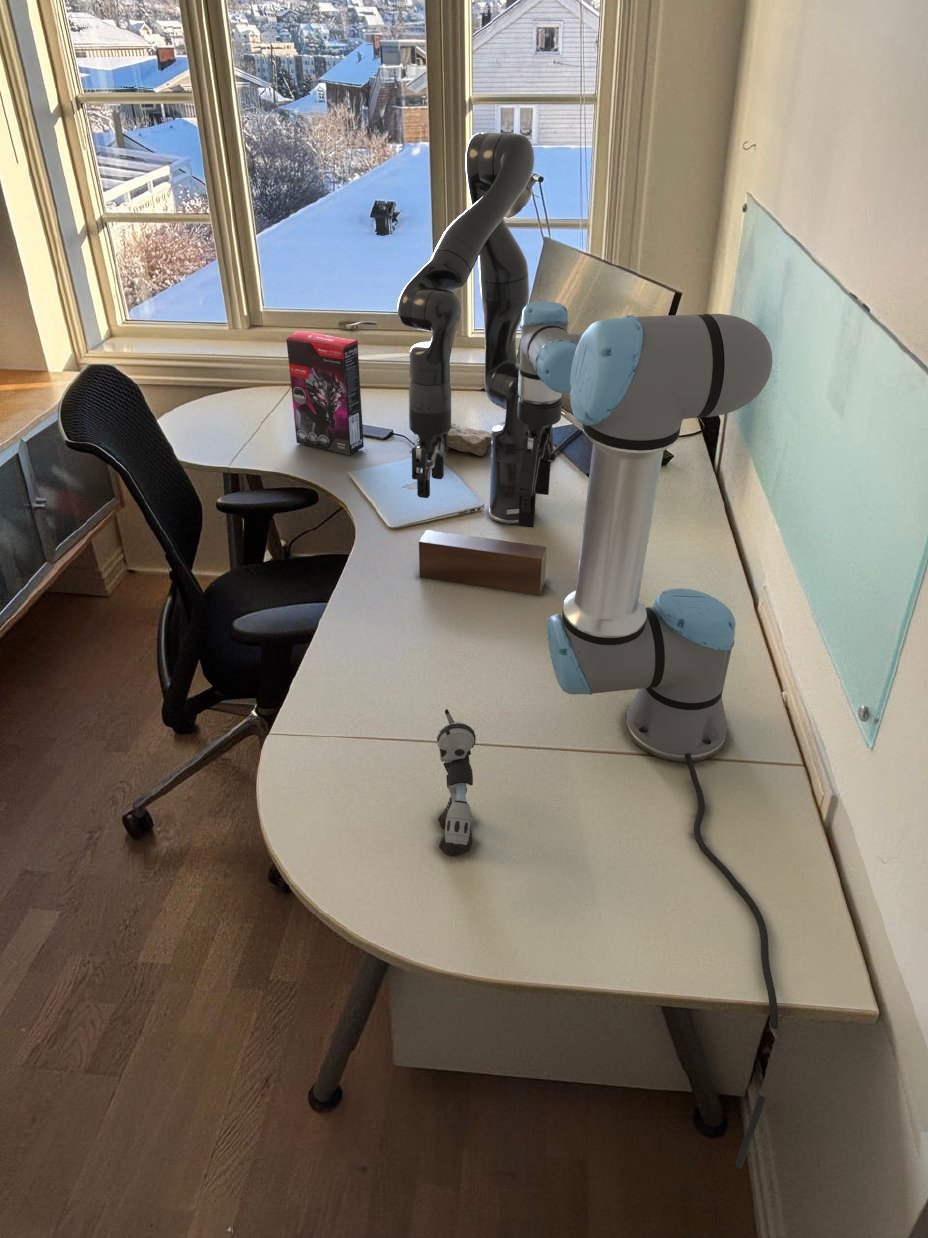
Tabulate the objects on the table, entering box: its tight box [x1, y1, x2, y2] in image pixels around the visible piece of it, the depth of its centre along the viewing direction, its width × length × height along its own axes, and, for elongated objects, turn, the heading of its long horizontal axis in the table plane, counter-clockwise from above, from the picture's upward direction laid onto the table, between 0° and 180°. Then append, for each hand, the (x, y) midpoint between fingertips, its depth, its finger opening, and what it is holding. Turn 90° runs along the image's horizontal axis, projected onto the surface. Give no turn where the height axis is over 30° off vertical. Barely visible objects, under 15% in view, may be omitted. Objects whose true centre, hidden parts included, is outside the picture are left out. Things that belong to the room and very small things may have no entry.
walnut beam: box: [418, 529, 548, 596], centre depth 178 cm, size 5×24×8 cm, turn 75°
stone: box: [413, 422, 492, 457], centre depth 232 cm, size 21×15×6 cm
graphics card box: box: [285, 330, 365, 456], centre depth 225 cm, size 17×7×27 cm, turn 62°
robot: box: [436, 708, 477, 857], centre depth 119 cm, size 20×5×20 cm, turn 3°
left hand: (430, 487), depth 172 cm, fingers open, 8 cm apart
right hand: (533, 509), depth 169 cm, fingers open, 13 cm apart
